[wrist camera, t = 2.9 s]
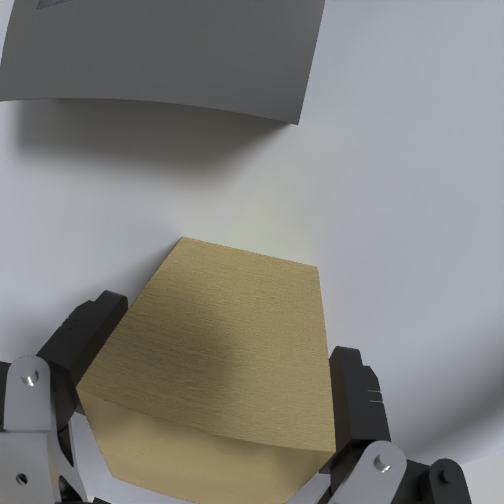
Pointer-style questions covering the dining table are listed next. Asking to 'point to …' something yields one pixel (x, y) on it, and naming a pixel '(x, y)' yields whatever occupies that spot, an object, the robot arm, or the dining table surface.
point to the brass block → (216, 380)
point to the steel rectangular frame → (164, 52)
